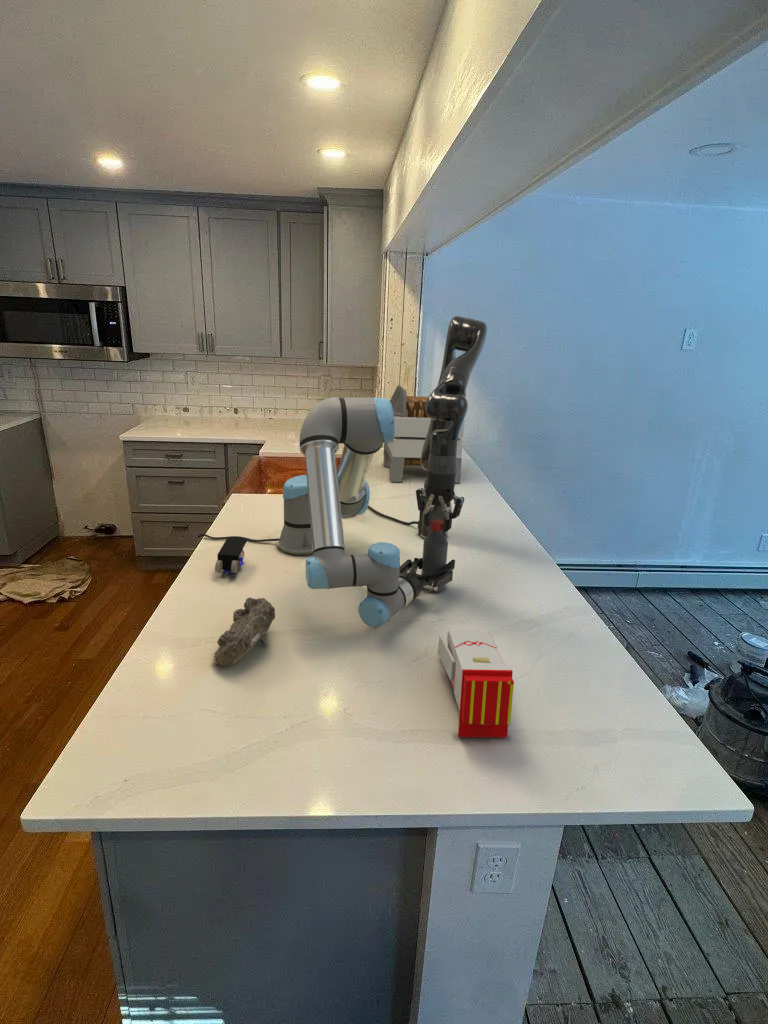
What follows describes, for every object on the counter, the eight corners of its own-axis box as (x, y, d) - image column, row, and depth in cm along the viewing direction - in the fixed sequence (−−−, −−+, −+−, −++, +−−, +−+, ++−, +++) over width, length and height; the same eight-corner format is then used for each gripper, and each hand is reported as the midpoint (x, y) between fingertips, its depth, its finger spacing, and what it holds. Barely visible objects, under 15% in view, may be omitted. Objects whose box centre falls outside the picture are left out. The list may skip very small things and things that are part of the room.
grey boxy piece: (382, 463, 289) (386, 382, 275) (445, 464, 293) (451, 384, 279) (390, 482, 257) (394, 392, 243) (460, 483, 261) (468, 394, 247)
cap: (443, 526, 158) (444, 519, 158) (444, 531, 155) (445, 524, 154) (429, 525, 158) (430, 519, 158) (430, 531, 155) (431, 524, 154)
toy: (488, 613, 130) (523, 677, 101) (484, 667, 133) (517, 744, 104) (435, 612, 130) (455, 676, 101) (432, 666, 133) (451, 743, 103)
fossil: (230, 601, 141) (273, 572, 136) (255, 627, 144) (299, 600, 139) (195, 660, 122) (245, 629, 117) (226, 689, 125) (276, 660, 120)
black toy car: (238, 584, 162) (249, 557, 175) (236, 562, 158) (247, 536, 172) (215, 584, 161) (227, 556, 175) (212, 561, 158) (225, 535, 171)
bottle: (425, 579, 167) (430, 518, 160) (447, 585, 164) (453, 523, 157) (416, 589, 161) (421, 525, 154) (438, 595, 158) (444, 530, 152)
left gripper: (369, 592, 152) (411, 563, 170) (435, 614, 142) (472, 581, 161) (370, 567, 149) (412, 540, 168) (437, 588, 140) (474, 557, 158)
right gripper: (472, 471, 150) (466, 530, 156) (424, 461, 157) (420, 519, 163) (460, 477, 144) (454, 539, 150) (411, 467, 151) (407, 526, 157)
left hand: (441, 560), depth 164 cm, fingers closed on bottle, 7 cm apart
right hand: (437, 528), depth 156 cm, fingers open, 5 cm apart
